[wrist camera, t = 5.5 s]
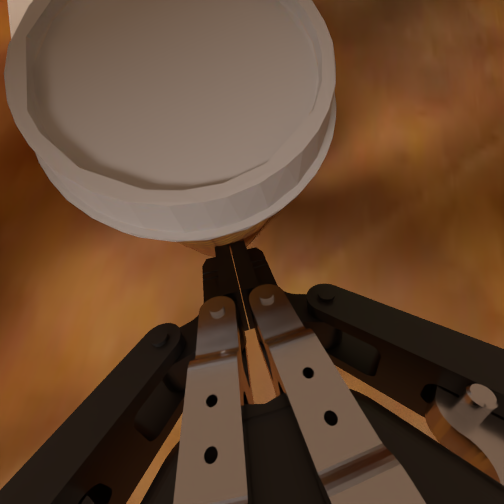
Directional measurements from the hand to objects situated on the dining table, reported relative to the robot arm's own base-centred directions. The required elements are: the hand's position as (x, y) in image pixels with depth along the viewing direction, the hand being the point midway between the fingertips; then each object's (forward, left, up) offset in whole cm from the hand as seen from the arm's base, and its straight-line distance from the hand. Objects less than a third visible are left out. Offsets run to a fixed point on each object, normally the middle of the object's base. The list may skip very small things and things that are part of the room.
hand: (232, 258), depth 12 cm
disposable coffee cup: (0, +4, -5) cm, 7 cm away
